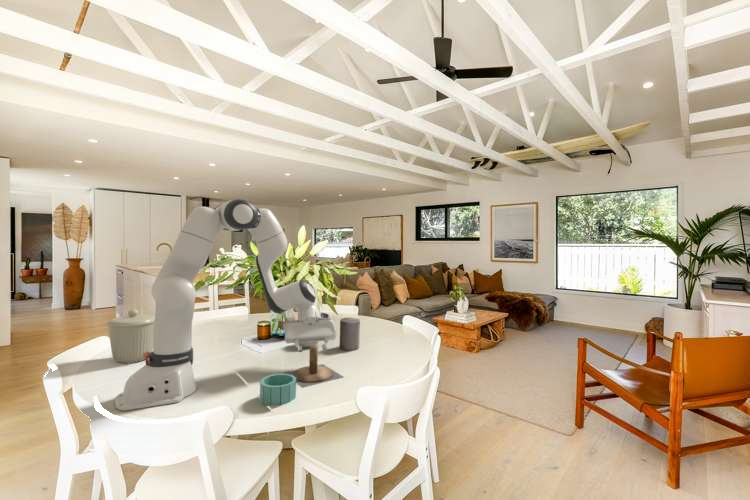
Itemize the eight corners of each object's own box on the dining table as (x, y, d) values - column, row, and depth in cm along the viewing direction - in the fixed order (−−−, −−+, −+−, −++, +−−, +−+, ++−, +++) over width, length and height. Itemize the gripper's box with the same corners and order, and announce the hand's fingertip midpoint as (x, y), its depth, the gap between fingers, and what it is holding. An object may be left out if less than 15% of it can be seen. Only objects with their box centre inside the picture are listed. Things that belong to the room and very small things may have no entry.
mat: (302, 388, 121) (302, 387, 121) (283, 373, 135) (283, 372, 135) (344, 378, 132) (344, 377, 132) (322, 365, 145) (322, 364, 145)
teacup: (314, 349, 166) (314, 333, 166) (293, 348, 168) (293, 331, 168) (324, 341, 180) (324, 326, 180) (304, 340, 182) (304, 324, 182)
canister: (152, 364, 143) (152, 312, 143) (98, 369, 137) (98, 314, 136) (162, 351, 160) (162, 305, 160) (115, 354, 154) (115, 306, 153)
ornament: (299, 339, 183) (299, 311, 182) (269, 340, 180) (269, 311, 179) (299, 332, 197) (299, 305, 197) (271, 333, 194) (271, 306, 194)
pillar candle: (335, 346, 171) (336, 316, 171) (352, 343, 177) (352, 314, 177) (346, 352, 164) (347, 320, 163) (363, 348, 170) (364, 317, 169)
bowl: (267, 409, 106) (267, 389, 106) (255, 396, 115) (255, 378, 115) (301, 400, 113) (301, 381, 113) (287, 388, 122) (287, 371, 121)
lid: (303, 385, 123) (304, 355, 123) (286, 372, 135) (287, 344, 135) (340, 376, 132) (341, 348, 132) (321, 365, 144) (321, 339, 144)
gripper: (283, 316, 139) (285, 348, 130) (334, 314, 146) (339, 344, 137) (282, 325, 144) (284, 356, 135) (332, 322, 150) (336, 352, 141)
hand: (312, 350), depth 136 cm, fingers open, 8 cm apart
